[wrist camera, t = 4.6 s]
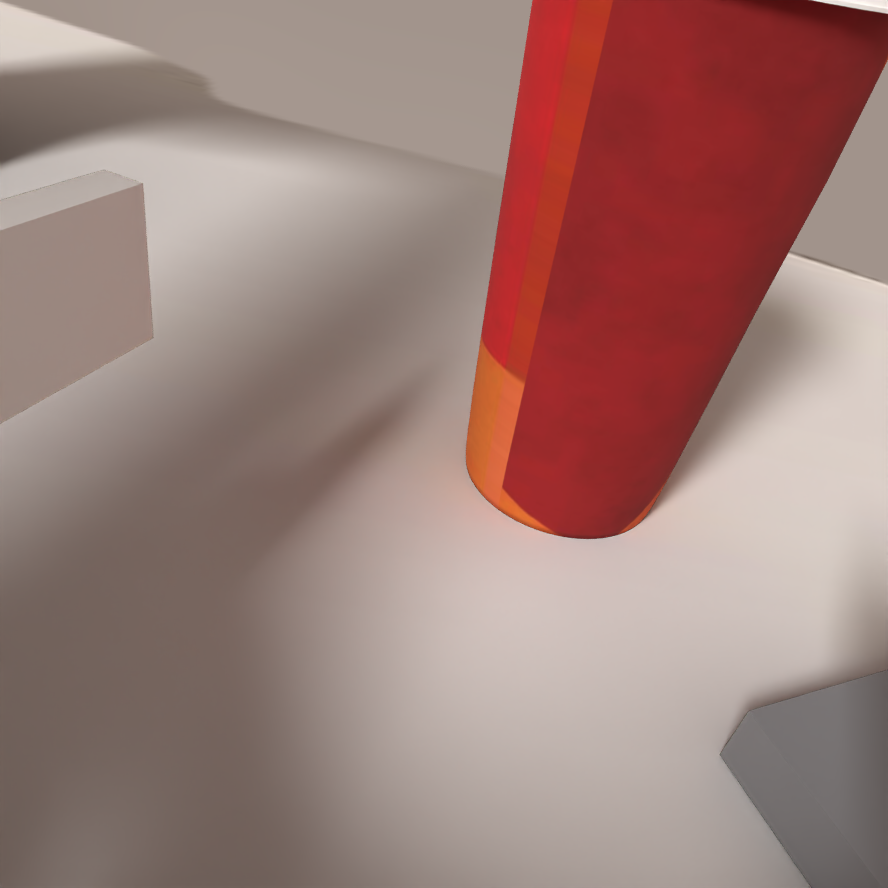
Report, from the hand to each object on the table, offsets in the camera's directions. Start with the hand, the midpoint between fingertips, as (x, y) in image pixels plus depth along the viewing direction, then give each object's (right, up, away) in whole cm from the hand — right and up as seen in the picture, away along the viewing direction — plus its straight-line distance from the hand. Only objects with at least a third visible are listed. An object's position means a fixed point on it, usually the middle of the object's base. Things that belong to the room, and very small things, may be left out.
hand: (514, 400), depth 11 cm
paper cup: (+2, -2, +12) cm, 12 cm away
